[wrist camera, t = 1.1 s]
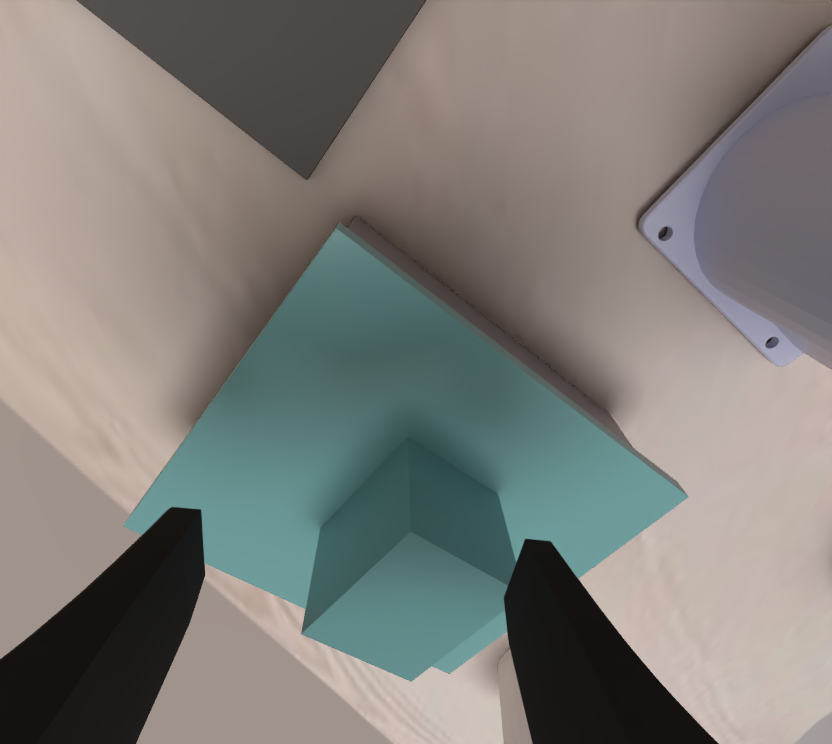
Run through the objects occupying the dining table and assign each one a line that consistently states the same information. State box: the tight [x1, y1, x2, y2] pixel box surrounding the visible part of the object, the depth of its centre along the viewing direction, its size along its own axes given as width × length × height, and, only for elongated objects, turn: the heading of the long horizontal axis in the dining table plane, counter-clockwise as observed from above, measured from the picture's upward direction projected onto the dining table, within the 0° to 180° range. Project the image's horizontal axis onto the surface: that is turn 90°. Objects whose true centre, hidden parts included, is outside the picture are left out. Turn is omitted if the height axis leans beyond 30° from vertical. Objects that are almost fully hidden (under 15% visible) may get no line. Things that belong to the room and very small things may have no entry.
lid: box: [124, 222, 688, 681], centre depth 16 cm, size 15×13×6 cm
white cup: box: [497, 649, 532, 744], centre depth 28 cm, size 7×7×7 cm
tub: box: [347, 216, 632, 447], centre depth 20 cm, size 14×12×4 cm
